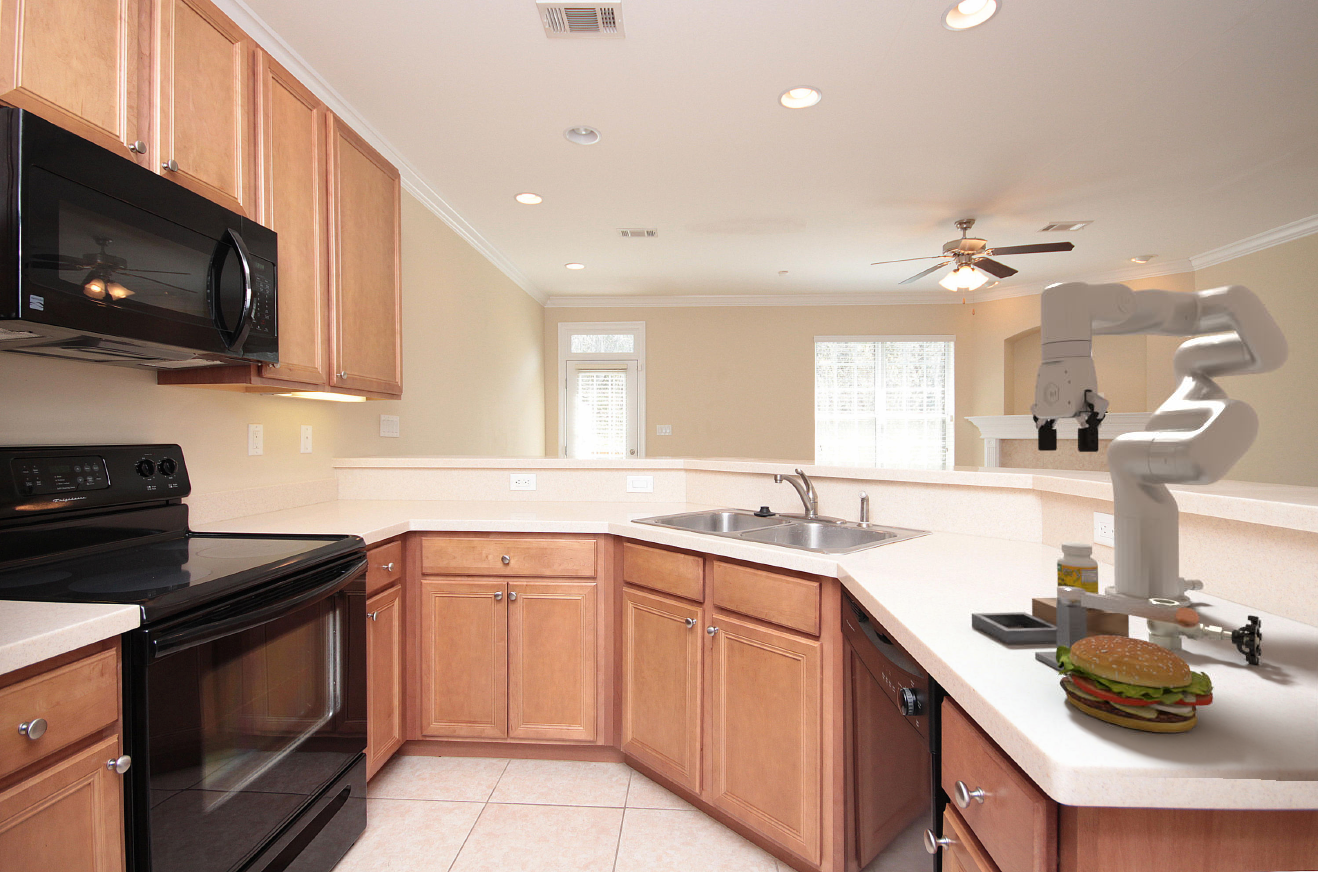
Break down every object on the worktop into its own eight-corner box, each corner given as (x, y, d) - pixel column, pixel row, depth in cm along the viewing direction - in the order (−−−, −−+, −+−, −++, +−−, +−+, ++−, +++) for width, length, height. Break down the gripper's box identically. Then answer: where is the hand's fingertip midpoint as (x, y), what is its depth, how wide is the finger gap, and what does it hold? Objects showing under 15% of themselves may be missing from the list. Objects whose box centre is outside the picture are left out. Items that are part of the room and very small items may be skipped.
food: (1252, 737, 62) (1252, 659, 62) (1126, 744, 61) (1126, 665, 61) (1135, 683, 76) (1134, 619, 76) (1030, 688, 75) (1030, 623, 75)
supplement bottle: (1107, 609, 94) (1106, 547, 94) (1073, 609, 94) (1072, 547, 94) (1081, 599, 99) (1080, 541, 99) (1049, 600, 99) (1049, 541, 99)
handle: (1203, 627, 72) (1203, 607, 72) (1195, 632, 70) (1195, 612, 70) (1062, 600, 84) (1062, 583, 84) (1053, 604, 82) (1052, 587, 82)
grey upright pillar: (1076, 656, 85) (1075, 598, 85) (1110, 673, 79) (1110, 610, 79) (1035, 657, 84) (1034, 599, 84) (1066, 674, 78) (1066, 611, 78)
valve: (1141, 647, 89) (1254, 671, 79) (1140, 602, 89) (1254, 621, 79) (1153, 637, 93) (1262, 659, 83) (1152, 594, 93) (1262, 612, 83)
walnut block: (1083, 620, 101) (1083, 597, 101) (1128, 638, 92) (1128, 612, 92) (1032, 622, 100) (1032, 598, 100) (1072, 640, 91) (1072, 613, 92)
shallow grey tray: (1024, 624, 99) (1024, 612, 99) (1064, 642, 90) (1064, 629, 90) (971, 625, 99) (971, 613, 99) (1006, 644, 90) (1006, 631, 90)
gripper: (1014, 360, 115) (1014, 450, 115) (1083, 347, 98) (1084, 452, 98) (1051, 360, 116) (1052, 450, 116) (1127, 347, 98) (1128, 452, 98)
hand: (1066, 451), depth 107 cm, fingers open, 9 cm apart
